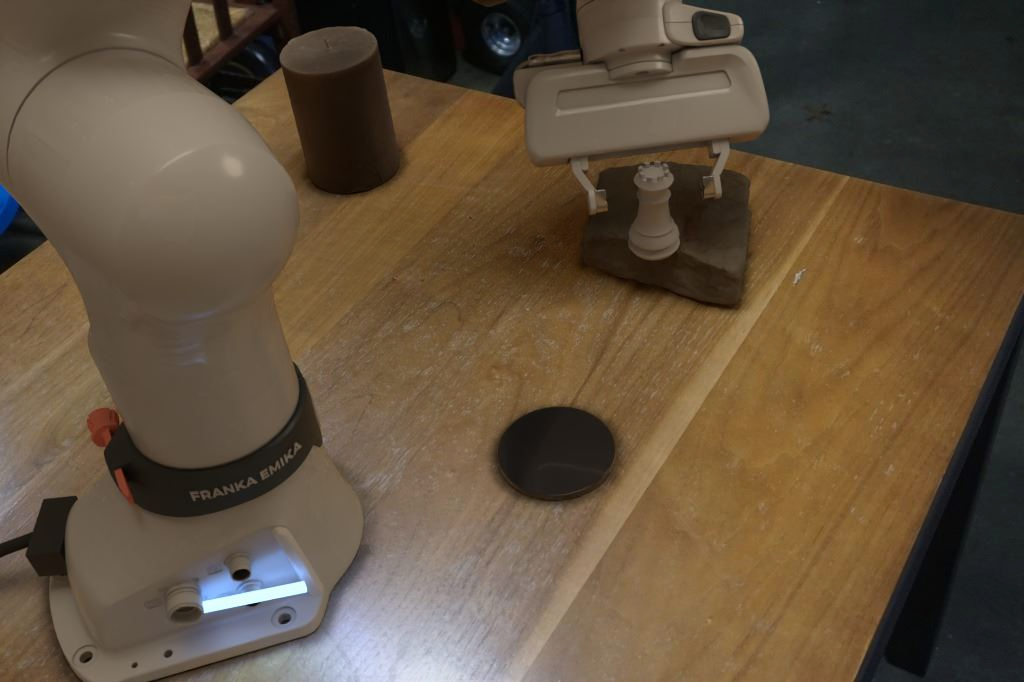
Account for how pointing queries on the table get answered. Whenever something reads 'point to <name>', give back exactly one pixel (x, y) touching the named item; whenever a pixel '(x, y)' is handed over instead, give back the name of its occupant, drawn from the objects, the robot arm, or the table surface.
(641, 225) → the rook chess piece
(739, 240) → the flat brown rock
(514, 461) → the slate coaster
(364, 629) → the table surface
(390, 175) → the pillar candle
